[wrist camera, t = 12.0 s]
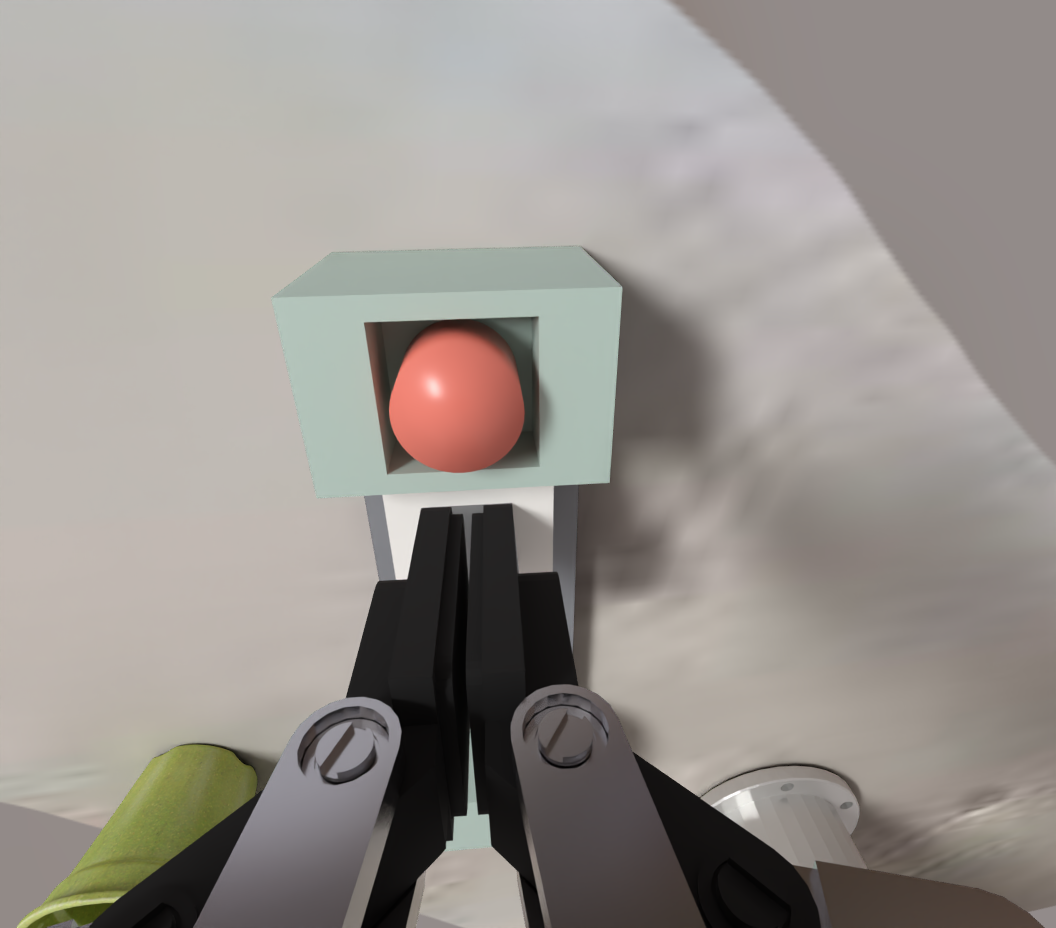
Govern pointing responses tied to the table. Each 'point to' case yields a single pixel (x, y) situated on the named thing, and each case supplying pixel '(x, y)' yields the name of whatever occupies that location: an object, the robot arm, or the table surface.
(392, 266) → the rail track
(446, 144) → the table surface
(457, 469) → the button
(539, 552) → the carriage
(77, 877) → the plant pot
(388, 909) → the robot arm
